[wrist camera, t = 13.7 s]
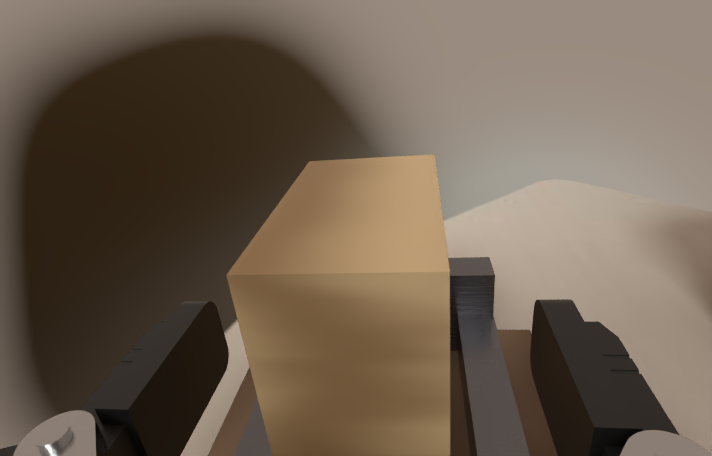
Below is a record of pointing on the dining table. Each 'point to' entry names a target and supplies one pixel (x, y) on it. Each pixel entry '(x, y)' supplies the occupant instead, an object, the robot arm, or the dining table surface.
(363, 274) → the oak plank
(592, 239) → the dining table surface
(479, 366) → the cradle
